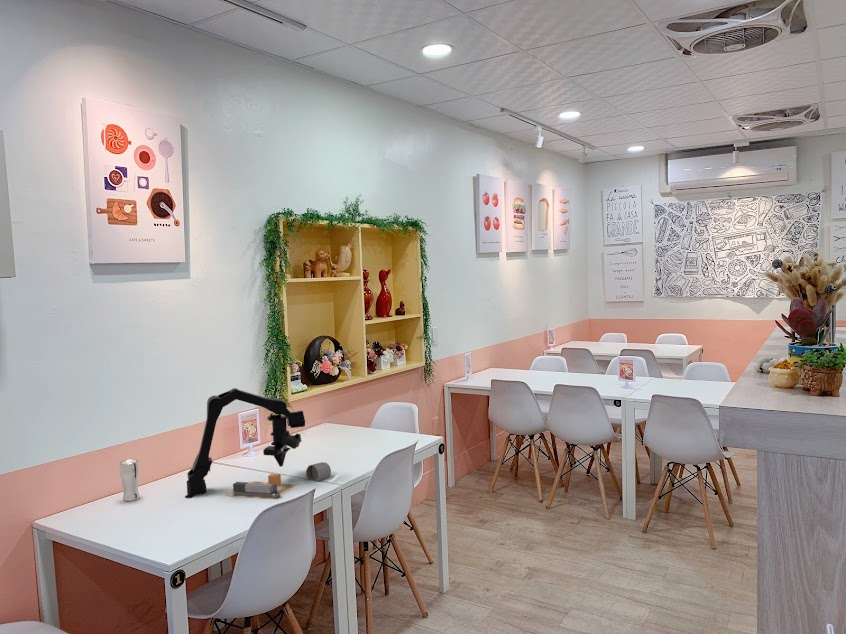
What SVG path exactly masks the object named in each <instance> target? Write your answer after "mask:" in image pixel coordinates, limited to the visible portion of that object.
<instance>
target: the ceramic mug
mask: <svg viewBox="0 0 846 634" xmlns="http://www.w3.org/2000/svg"><path fill="white" fill-rule="evenodd" d="M331 473H332V469H331V466H330V465H329V464H328V463H327V462H318V463H313V464H309V465H308V466H307V468H306V470H305V478H306V479H307V480H311V479H314V480H315V481H316V482H321V481H323V480H325V479H328V478H330V476H331Z"/></svg>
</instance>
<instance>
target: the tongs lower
mask: <svg viewBox="0 0 846 634" xmlns="http://www.w3.org/2000/svg"><path fill="white" fill-rule="evenodd" d="M232 492H233V491H232ZM233 493H234V495H236V496H251V497H265V498H272V499H271V500H274V499H276V498H279V497H280V492H277V484H273V492H272V493H258V492H238V491H234V492H233ZM280 498H281V497H280ZM280 498H279V499H280Z"/></svg>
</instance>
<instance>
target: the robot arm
mask: <svg viewBox="0 0 846 634" xmlns="http://www.w3.org/2000/svg"><path fill="white" fill-rule="evenodd" d="M236 400H237V401H241V402H245V403H248V404H250V405H251V404H252V405H253V406H254V405H255V406H258V407H262V408H265V409H266V410H268V411H270V412H272V413H270V415H269V416H267V418H266V419H267V420H268V421H271V423H272V431H271V432H270V436H271V437H272V442H270V443H271V445H268V446H267V447H265V448H264V449H263V450H262V452H263V456H273V457H274V459H275V460H276V462H277V465H278V466H279V467H284V463H285V459H286V454H287V453H288V452H289V450H291V449H293V450H295V449H297V448H299V446H300V444H301V442H302V437H301V434H300V433H296V434H295V435H294V434H293V435H291V434H290V431H289V430H287V428H288V427H290V428H291V429H299V428H304V427H305V426H306V419H305V415H304V411H303V410H297V411H291V410H289V409H287V408H288V407H287V404H286V403H285V401H284V400H283V399H281V398H277V397H264V396H261V395H258V394H254V393H251V392H249V391H244V390H240V389H238V387H237V388H235V387H234V388H232V389H230V390H227V391H225V392H223V393H220V394H218V395H211V396H210V397H208V399H207V401H206V420H205V424H204V429H203V433H202V437H201V438H202V439H201V442H200V447H199V451H198V453H197V455H196V457H195V459H194V462H193V463H192V467H191V469H190V470H189V471H188V472H187V480H186V495H185V496H184V498H187V499H188V498H189V499H193V498H194V497H195V496H198V495H205V494H206V493H207V483H206V480H205V477H206V476H208V474H209V472H211V466H212V464H213V459H212V457H210V451H211V449H212V448H211V446H212V443H213V439H214V434H215V429H216V425H217V422H218V419H219V417H220V416H221V413H222V411H223V408H225V407H226V406H228V405H229V404H231V403H232V402H234V401H236Z"/></svg>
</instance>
